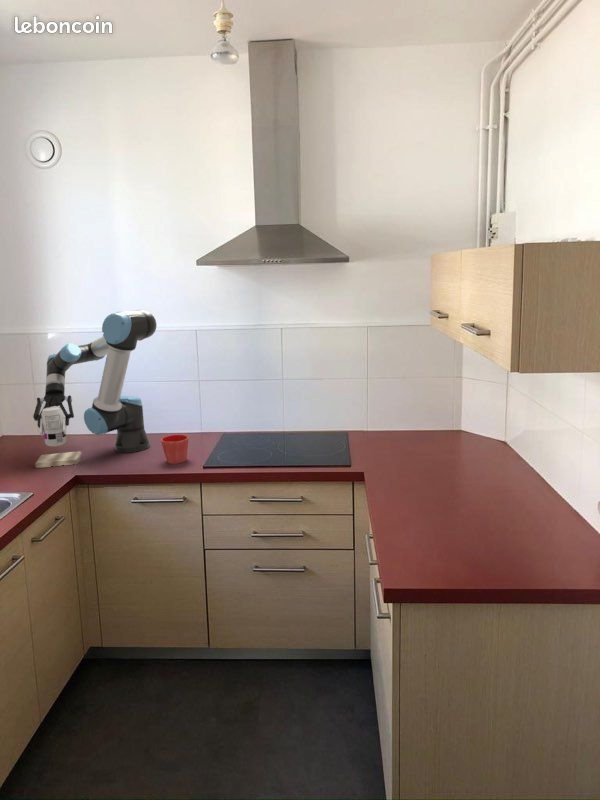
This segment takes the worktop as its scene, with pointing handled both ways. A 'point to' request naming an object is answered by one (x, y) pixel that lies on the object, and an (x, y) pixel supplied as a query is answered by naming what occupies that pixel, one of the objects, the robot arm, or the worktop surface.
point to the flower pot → (175, 448)
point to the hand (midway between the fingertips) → (52, 432)
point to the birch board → (58, 459)
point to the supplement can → (53, 426)
